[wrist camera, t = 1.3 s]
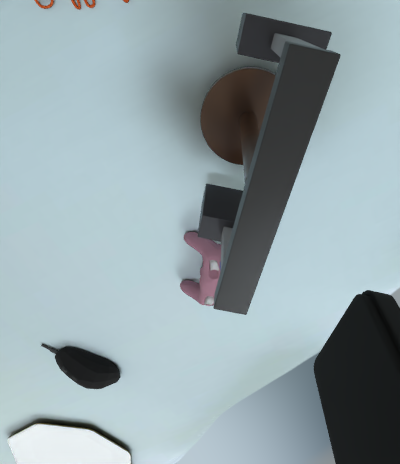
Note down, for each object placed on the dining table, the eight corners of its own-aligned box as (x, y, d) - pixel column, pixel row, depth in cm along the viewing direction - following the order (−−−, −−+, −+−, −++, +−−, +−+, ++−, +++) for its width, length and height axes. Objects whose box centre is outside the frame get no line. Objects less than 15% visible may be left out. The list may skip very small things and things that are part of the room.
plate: (81, 489, 92) (79, 496, 91) (-10, 443, 81) (-14, 449, 80) (156, 462, 81) (155, 469, 80) (62, 404, 71) (59, 411, 69)
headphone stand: (308, 77, 35) (374, 135, 19) (278, 168, 41) (310, 273, 25) (211, 57, 35) (196, 98, 19) (194, 151, 40) (170, 246, 24)
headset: (311, 27, 30) (387, 44, 16) (253, 213, 40) (267, 326, 25) (242, 12, 29) (255, 15, 15) (201, 203, 39) (186, 311, 25)
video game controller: (206, 280, 53) (226, 313, 47) (177, 286, 51) (195, 321, 46) (213, 224, 47) (237, 254, 42) (181, 229, 46) (202, 260, 40)
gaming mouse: (47, 333, 59) (36, 352, 56) (126, 366, 63) (120, 386, 59) (37, 353, 62) (26, 373, 59) (113, 383, 66) (107, 403, 62)
